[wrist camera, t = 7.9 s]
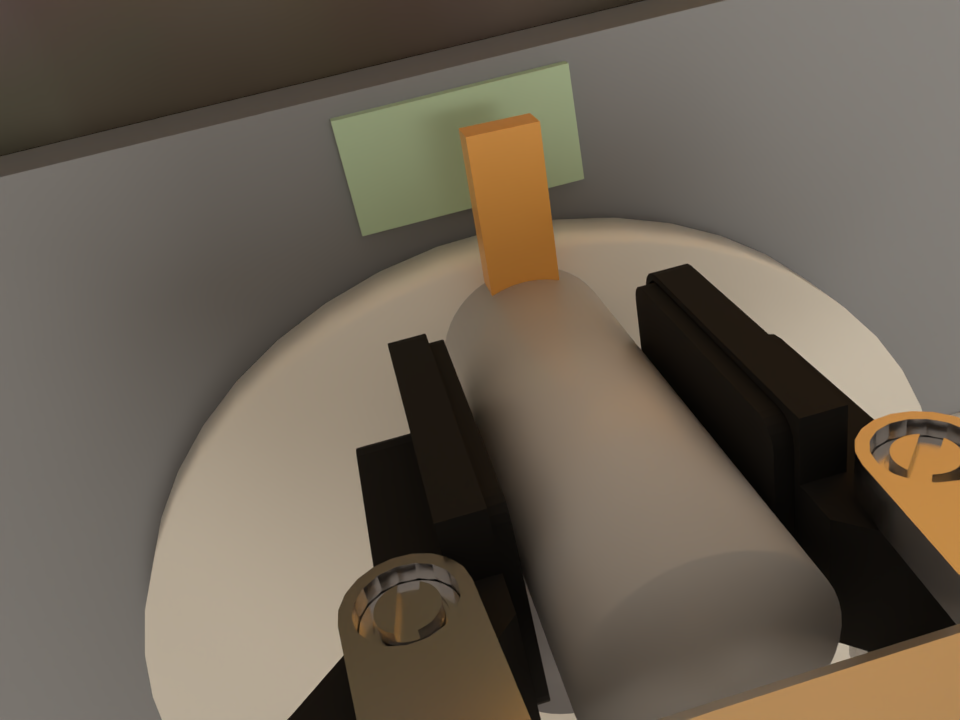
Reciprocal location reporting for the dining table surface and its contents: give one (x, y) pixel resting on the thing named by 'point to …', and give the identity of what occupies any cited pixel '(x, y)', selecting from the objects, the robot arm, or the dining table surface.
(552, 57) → the dial board
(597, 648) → the dial
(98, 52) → the dining table surface
